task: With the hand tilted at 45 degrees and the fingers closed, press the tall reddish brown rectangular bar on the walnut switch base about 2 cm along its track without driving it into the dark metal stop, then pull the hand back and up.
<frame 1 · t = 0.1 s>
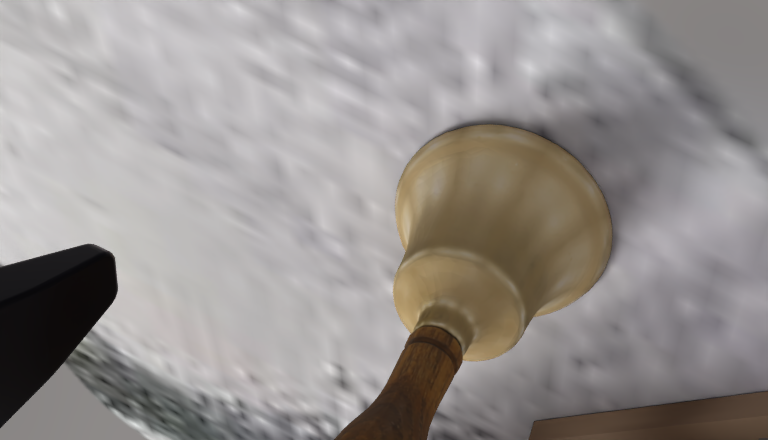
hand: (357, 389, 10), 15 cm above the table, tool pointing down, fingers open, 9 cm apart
hand bell: (499, 222, 25), on the table
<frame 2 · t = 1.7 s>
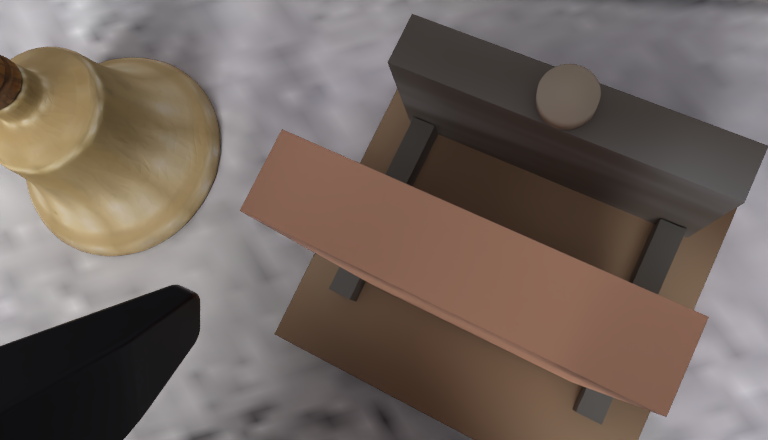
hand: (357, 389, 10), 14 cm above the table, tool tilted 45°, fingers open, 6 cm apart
switch base: (497, 275, 23), on the table
hand bell: (127, 156, 27), on the table
reddish brown rectangular bar: (471, 295, 16), point 8 cm above the table, slide at 0.0 cm
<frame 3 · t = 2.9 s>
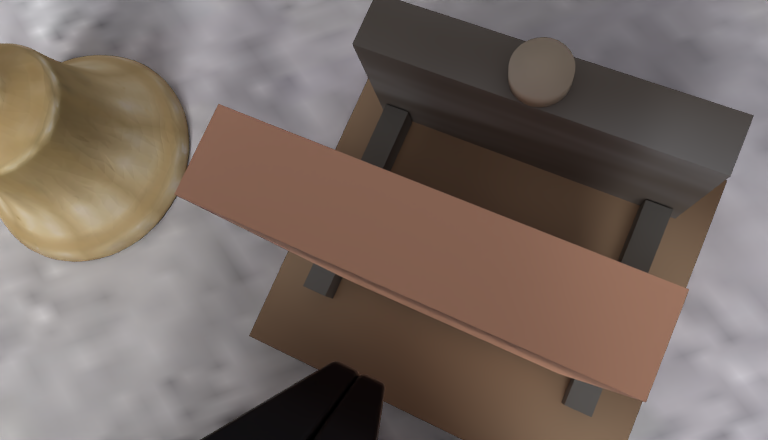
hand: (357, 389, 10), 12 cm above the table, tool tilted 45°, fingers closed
switch base: (480, 266, 22), on the table
hand bell: (93, 158, 26), on the table
reddish brown rectangular bar: (445, 283, 15), point 8 cm above the table, slide at 0.0 cm
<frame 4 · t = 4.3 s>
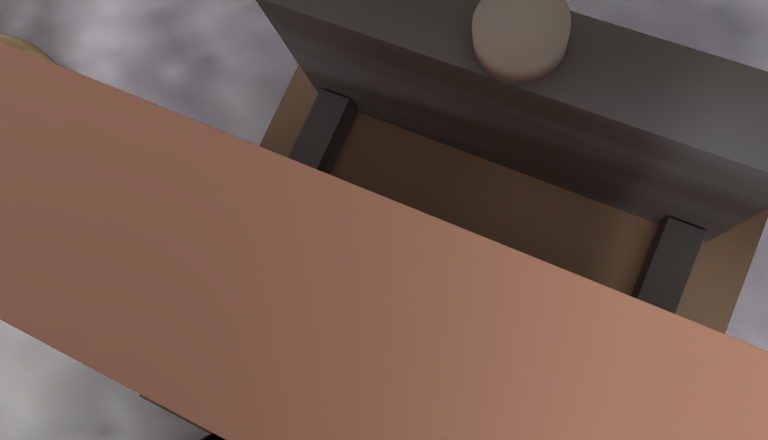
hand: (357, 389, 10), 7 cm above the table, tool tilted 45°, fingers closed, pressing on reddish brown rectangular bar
switch base: (446, 302, 17), on the table
reddish brown rectangular bar: (380, 323, 9), point 8 cm above the table, slide at 0.5 cm, touching gripper
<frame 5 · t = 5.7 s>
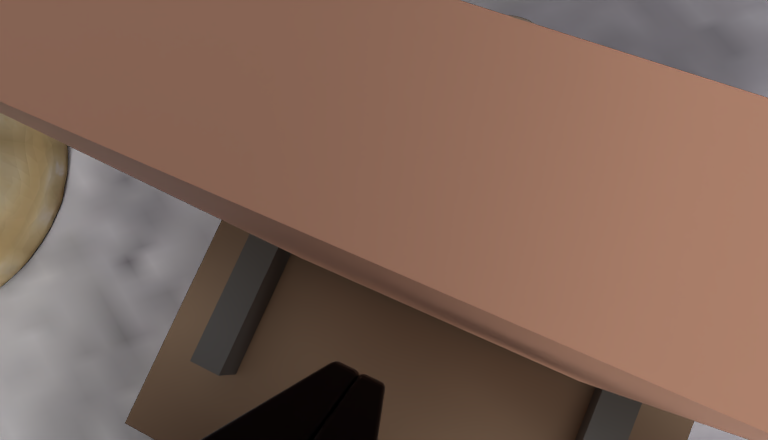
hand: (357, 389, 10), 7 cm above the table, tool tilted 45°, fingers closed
switch base: (435, 327, 17), on the table
reddish brown rectangular bar: (413, 245, 9), point 7 cm above the table, slide at 2.5 cm
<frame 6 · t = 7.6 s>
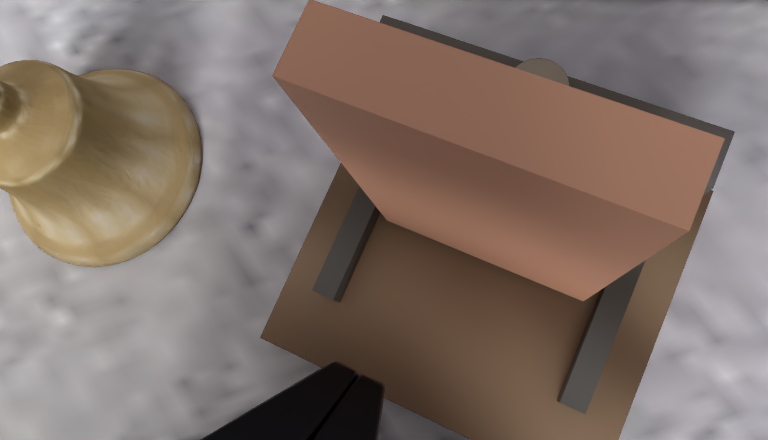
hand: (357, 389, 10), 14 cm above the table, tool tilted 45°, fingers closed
switch base: (479, 271, 23), on the table
hand bell: (109, 167, 27), on the table
reddish brown rectangular bar: (487, 195, 16), point 7 cm above the table, slide at 2.5 cm
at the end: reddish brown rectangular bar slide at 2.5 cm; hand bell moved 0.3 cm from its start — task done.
